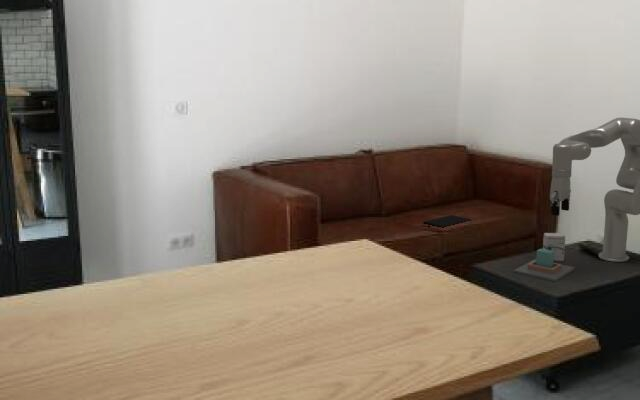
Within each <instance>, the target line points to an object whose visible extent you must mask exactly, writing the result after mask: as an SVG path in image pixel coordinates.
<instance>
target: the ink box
mask: <svg viewBox="0 0 640 400" xmlns="http://www.w3.org/2000/svg"><path fill="white" fill-rule="evenodd" d="M542 241H543V242H542V249H546V250H551V251H554V261H555V262H556V261H557V262H559V261H560V262H564V261H565V250H566V249H565V248H566V236H565V234H563V233H561V232H560V233H559V232H544V233H543V240H542Z"/></svg>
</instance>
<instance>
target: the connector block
mask: <svg viewBox="0 0 640 400" xmlns="http://www.w3.org/2000/svg"><path fill="white" fill-rule="evenodd" d="M535 259H536V265H537V266H542V267H546V268H553V264H554V263H555V262H554V251H551V250H546V249H543V248H539V249H537V250H536V257H535Z"/></svg>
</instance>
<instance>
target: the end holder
mask: <svg viewBox="0 0 640 400" xmlns="http://www.w3.org/2000/svg"><path fill="white" fill-rule="evenodd" d="M575 269H576V267H575V266H570V265H564V264H562V263H558V262H557V263H556V262H554V264H553V268H546V267H542V266H537V265H536V258H534V259H533V260H531V261H529V262H527V263H525V264H524V265H521V266H519V267H517V268H516V269H514V270H513V273H515V274H519V275H524V276H529V277H533V278H537V279H541V280H546V281H551V282H554V281H555V282H557V281H559V280H560V279H562V278H563V277H565V276H566V275H568V274H570V273H572V271H573V272H574V270H575Z"/></svg>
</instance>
